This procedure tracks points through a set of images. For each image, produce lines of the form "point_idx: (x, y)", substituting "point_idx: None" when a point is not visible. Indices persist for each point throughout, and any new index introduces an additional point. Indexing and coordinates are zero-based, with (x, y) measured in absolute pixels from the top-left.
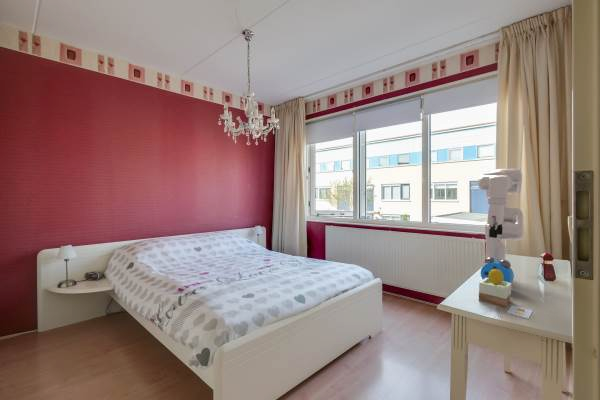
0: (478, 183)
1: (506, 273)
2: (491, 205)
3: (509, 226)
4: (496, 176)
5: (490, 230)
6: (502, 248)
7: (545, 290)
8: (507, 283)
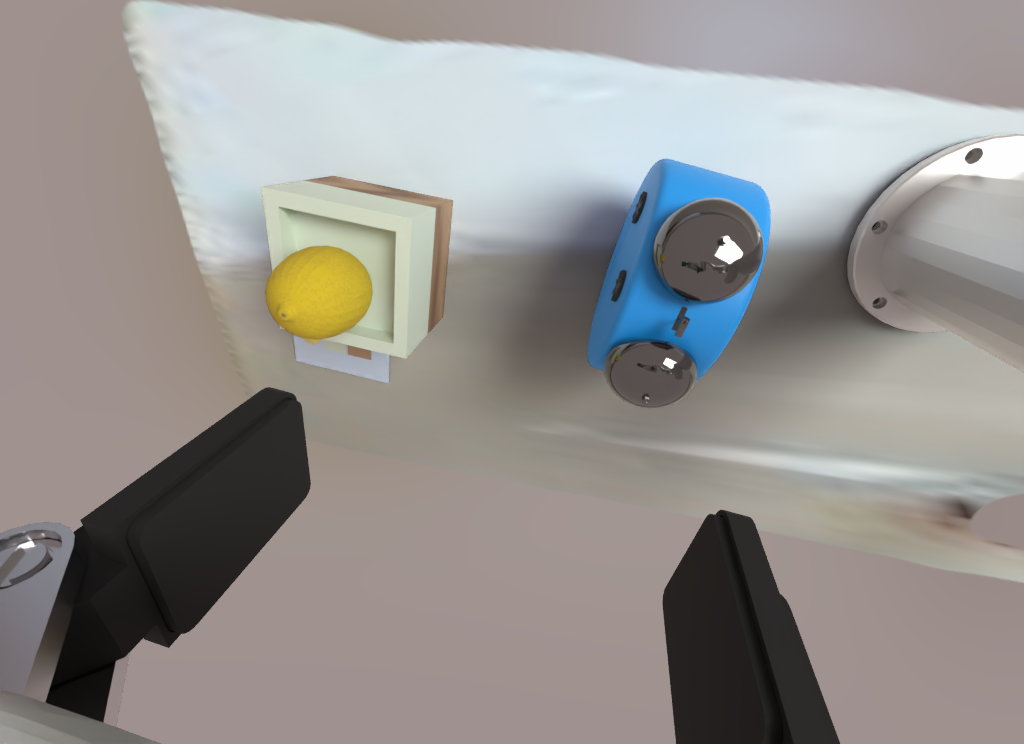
0: None
1: (592, 348)
2: None
3: None
4: None
5: (135, 509)
6: None
7: (729, 466)
8: (395, 338)
